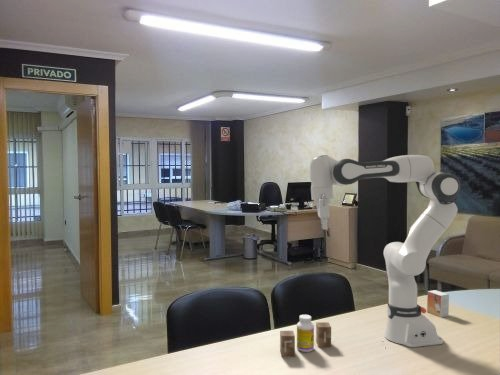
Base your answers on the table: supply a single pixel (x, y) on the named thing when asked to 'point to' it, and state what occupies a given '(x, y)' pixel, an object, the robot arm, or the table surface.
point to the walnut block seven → (287, 344)
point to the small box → (438, 303)
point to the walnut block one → (323, 334)
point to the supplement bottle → (305, 334)
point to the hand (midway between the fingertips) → (324, 228)
